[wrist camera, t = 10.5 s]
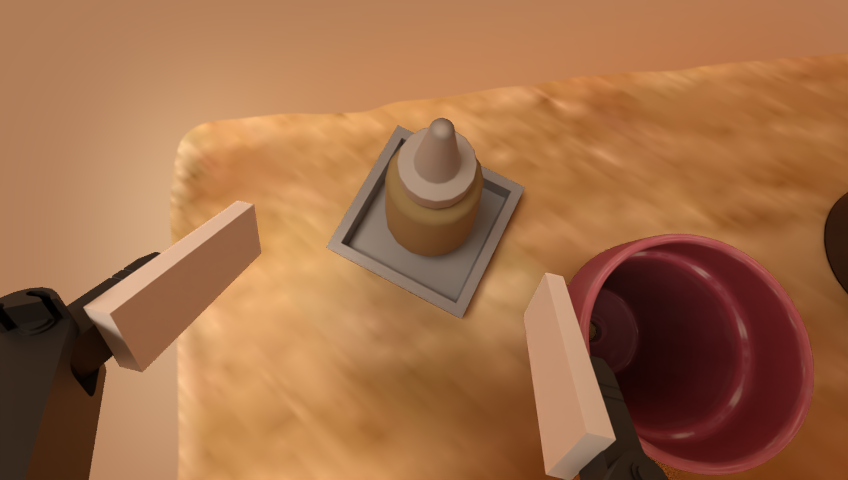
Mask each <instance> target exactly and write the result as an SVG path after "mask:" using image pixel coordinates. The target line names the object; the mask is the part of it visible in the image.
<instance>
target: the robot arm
mask: <svg viewBox="0 0 848 480" xmlns="http://www.w3.org/2000/svg"><path fill="white" fill-rule="evenodd" d="M825 241H826V249H827V253H828V257H829V260H830V263H831V266H832V268H833V270H834V272H835V274H836V276H837V278H838V279H839V281H840V283H841V284H842V285H843V287H844V288H845V289H846V291H847V292H848V193H847V194H845V195H844V196H843V197H842V198H841V199H840V200H839V201H838V202H837V203H836V204H835V206H834V207H833V209H832V211H831V213H830V215H829V218H828V221H827V225H826V233H825ZM260 254H261V248H260V241H259V234H258V228H257V221H256V214H255V207H254V204H251V203H247V202H242V201H238V200H237V201H236V202H235V203H233V204H232V205H230V206H229V207H227V208H226V209H224V210H223V211H222V212H220V213H219V214H217V215H216V216H214V217H213V218H211V219H210V220H209V221H207V222H206V223H204V224H203V225H201V226H200V227H198V228H197V229H196V230H194V231H193V232H191V233H190V234H188V235H187V236H185V237H184V238H183V239H181V240H180V241H178V242H177V243H175V244H174V245H172V246H171V247H170V248H168V249H167V250H165V251H164V252H163V253H158V252H154V253H152V254H149V255H147V256H144V257H142V258H139V259H137V260H136V261H134V262H133V263H131V264H130V265H128V266H127V267H125V268H124V270H121V271H119V272H118V273H116V274H114V275H113V276H112V278H108V279H107V280H105V281H104V282H102V283H101V284H99V285H98V286H96V287H95V288H94V289H92V290H90V291H89V292H87V293H86V294H84V295H83V296H81V297H80V298H78V299H77V300H75V301H74V302H72V303H71V304H69V305H68V306H65V304H64V303H63V301H62V300H61V298H60V297H59V295H58V294H57V292H55V291H54V290H52V289H49V288H43V287H40V288H29V289H25V290H21V291H17V292H13V293H11V294H9V295H6V296H4V297H1V298H0V480H89V474H90V468H91V462H92V456H93V450H94V444H95V437H96V431H97V425H98V419H99V413H100V407H101V401H102V394H103V388H104V382H105V376H106V367H105V364H104V363H105V362H106V361H107V360H108V359H109V358H110V357H112V356H114V358H115V359H116V361H117V363H118V364H119V366H120V367H124V368H127V369H132V370H136V371H139V372H143V371H144V370H145V369H146V368H147V367H148V366H149V365H150V364H151V363H152V362H153V361H154V360H155V359H156V358H157V357H158V356H159V355H160V354H161V353H162V352H163V351H164V350H165V349H166V348H167V347H168V346H169V345H170V344H171V343H172V342H173V341H174V340H175V339H176V338H177V337H178V336H179V335H180V334H181V333H182V332H183V331H184V330H185V329H186V328H187V327H188V326H189V325H190V324H191V323H192V322H193V321H194V320H195V319H196V318H197V317H198V316H199V315H200V314H201V313H202V312H203V311H204V310H205V309H206V308H207V307H208V306H209V305H210V304H211V303H212V302H213V301H214V300H215V299H216V298H217V297H218V296H219V295H220V294H221V293H222V292H223V291H224V290H225V289H226V288H227V287H228V286H229V285H230V284H231V283H232V282H233V281H234V280H235V279H236V278H237V277H238V276H239V275H240V274H241V273H242V272H243V271H244V270H245V269H246V268H247V267H248V266H249V265H250V264H251V263H252V262H253V261H254V260H255V259H256V258H257V257H258V256H259V255H260ZM523 316H524V324H525V331H526V338H527V345H528V352H529V359H530V366H531V373H532V380H533V387H534V394H535V401H536V409H537V416H538V423H539V430H540V437H541V444H542V451H543V458H544V465H545V472H546V475H549V476H553V477H557V478H561V479H565V480H572V479H573V478H574V477H575V476H576V475H577V474H580V479H581V480H668V478H667V476H666V475H665V473H664V472H663V470H662V469H661V468H660V467H659V466H658V465H657V464H656V463H655V462H654V461H653V460H652V459H650V458H649V457H647V456H646V455H645V453H644V451H643V448H642V446H641V443H640V440H639V438H638V435H637V433H636V430H635V427H634V425H633V422H632V419H631V417H630V414H629V412H628V409H627V406H626V404H625V403H624V399H623V396H622V393H621V391H619V385H618V383H617V380H616V378H615V375H614V373H613V371H612V370H611V369H610V367H609V366H608V365H607V363H606V362H605V361H604V359H602V358H598V357H594V356H589V355H588V352H587V349H586V346H585V343H584V339H583V336H582V333H581V330H580V327H579V324H578V321H577V318H576V315H575V312H574V309H573V306H572V302H571V299H570V296H569V293H568V290H567V287H566V284H565V281H564V278H563V276H559V275H555V274H551V273H546V272H545V274H544V276H543V278H542V280H541V282H540V284H539V286H538V288H537V290H536V292H535V294H534V296H533V298H532V300H531V302H530V304H529V306H528V307H527V309H526V311H525V313H524V315H523Z"/></svg>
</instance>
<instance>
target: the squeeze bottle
mask: <svg viewBox="0 0 848 480" xmlns="http://www.w3.org/2000/svg"><path fill="white" fill-rule="evenodd" d="M483 184H484V179H483V174H482V169H481V165H480V163H479V161H478V160H477V158H476V156H475V152H474V149H473V148H472V147H471V145H470V144H469V142H468V141H467V139H466V138H465V137H463V136H462V135H460V134H459V133H457V132H456V131H455V129H454V125H453V124H452V122H451V121H449V120H448V119H445V118H439V119H436V120H434V121H433V122H432V123H431V125H430V127H429V128H424V129H421V130H420V131H418V132H416V133H414V134H413V135H411V136H409V138H408V139H407V140H406V142H405V143H404V144H403V145H402V146H401V147H400V148H399V150H398V151H397V152H396V153H395V155H394V156H393V157H392V158H391V160H390V162H389V166H388V170H387V174H386V177H385V212H386V219H387V226H388V229H389V231H390V232H391V234H392V235H393V237H394V239H395V240H396V242H397V243H398V244H400V245H401V246H402V247H404V248H405V249H407V250H408V251H409V252H411V253H414V254H418V255H423V256H427V257H432V256H438V255H444V254H447V253H449V252H451V251H452V250H454V249H455V248H457V247H459V246H460V245H462V243H463V242H464V240H465V239H466V237H467V236H468V235H469V233H470V232H471V230H472V226H473V223H474V220H475V216H476V213H477V209H478V206H479V202H480V199H481V194H482V189H483Z"/></svg>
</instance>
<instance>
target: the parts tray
mask: <svg viewBox="0 0 848 480" xmlns="http://www.w3.org/2000/svg"><path fill="white" fill-rule="evenodd" d="M413 134H414V133H413V132H411V131H409V130H407V129H405V128H402V127H400V126H397V127H396V129H395V131H394V133H393V134H392V136H391V138H390V139H389V141H388V143H387V144H386V146H385V148H384V150H383V151H382V153H381V155H380V156H379V158H378V160H377V161H376V163H375V165H374V167H373V168H372V170H371V172H370V173H369V175H368V177H367V179H366V180H365V182H364V184H363V185H362V187H361V189H360V190H359V192H358V194H357V196H356V197H355V199H354V201H353V202H352V204H351V206H350V207H349V209H348V211H347V213H346V214H345V216H344V218H343V219H342V221H341V223H340V224H339V226H338V228H337V230H336V231H335V233H334V235H333V236H332V238H331V240H330V242H329V243H328V245H327V247H326V248H328V249H330V250H332V251H333V252H335V253H337V254H339V255H341V256H343V257H345V258H346V259H348V260H350V261H352V262H354V263H356V264H358V265H360V266H362V267H363V268H365V269H367V270H369V271H371V272H373V273H375V274H377V275H379V276H380V277H382V278H384V279H386V280H388V281H390V282H392V283H394V284H396V285H398V286H399V287H401V288H403V289H405V290H407V291H409V292H411V293H413V294H415V295H416V296H418V297H420V298H422V299H424V300H426V301H428V302H430V303H432V304H434V305H435V306H437V307H439V308H441V309H443V310H445V311H447V312H449V313H451V314H452V315H454V316H456V317H458V318H461V319H462V317H463V314H464V312H465V310H466V308H467V306H468V304H469V302H470V300H471V298H472V296H473V294H474V292H475V290H476V287H477V285H478V283H479V281H480V279H481V277H482V275H483V273H484V271H485V269H486V267H487V265H488V263H489V261H490V258H491V256H492V254H493V252H494V250H495V248H496V246H497V244H498V242H499V240H500V238H501V236H502V234H503V232H504V229H505V227H506V225H507V223H508V221H509V219H510V217H511V215H512V213H513V211H514V209H515V207H516V205H517V202H518V200H519V198H520V196H521V194H522V192H523V190H524V188H525V187H523V186H521V185H519V184H517V183H515V182H513V181H511V180H509V179H507V178H505V177H503V176H501V175H499V174H497V173H495V172H493V171H491V170H489V169H487V168H485V167H482V166H481V169H482V174H483V179H484V184H483V189H482V194H481V199H480V202H479V206H478V209H477V213H476V216H475V220H474V223H473V226H472V230H471V232H470V233H469V235H468V236H467V237H466V239H465V240H464V242H463V243H462V245H460V246H459V247H457V248H455V249H454V250H452V251H451V252H449V253H447V254H444V255H438V256H432V257H427V256H423V255H418V254H414V253H411V252H409V251H408V250H407V249H405V248H404V247H402V246H401V245H400V244H398V243H397V242H396V240H395V239H394V237H393V235H392V234H391V232H390V231H389V229H388V226H387V219H386V212H385V177H386V174H387V170H388V166H389V162H390V160H391V158H392V157H393V156H394V155H395V153H396V152H397V151H398V150H399V148H400V147H401V146H402V145H403V144H404V143H405V142H406V140H407V139H408V138H409V136H411V135H413Z"/></svg>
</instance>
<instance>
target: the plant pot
mask: <svg viewBox="0 0 848 480" xmlns="http://www.w3.org/2000/svg"><path fill="white" fill-rule="evenodd" d="M566 287H567V290H568V293H569V296H570V299H571V302H572V306H573V309H574V312H575V315H576V318H577V321H578V324H579V327H580V330H581V333H582V336H583V339H584V343H585V346H586V349H587V352H588V355H589V356H594V357H598V358H602V359H604V361H605V362H606V363H607V365H608V366H609V367H610V369H611V370H612V371H613V373H614V375H615V378H616V380H617V383H618V385H619V391H621V393H622V396H623V399H624V403H625V404H626V406H627V409H628V412H629V414H630V417H631V419H632V422H633V425H634V427H635V430H636V433H637V435H638V438H639V440H640V443H641V446H642V448H643V451H644V453H645V454H646V455H648V456H650V457H651V458H653V459H655V460H657V461H659V462H661V463H663V464H666V465H668V466H671V467H673V468H676V469H680V470H683V471H687V472H692V473H697V474H706V475H723V474H733V473H738V472H742V471H746V470H749V469H752V468H754V467H756V466H759V465H761V464H763V463H765V462H766V461H768V460H770V459H771V458H772V457H774V456H775V455H777V454H778V453H779V452H780V451H781V450H782V449H783V448H785V447H786V446H787V445H788V443H789V442H790V441H791V440H792V439H793V438H794V437H795V435H796V433H797V432H798V430H799V429H800V427H801V425H802V423H803V422H804V420H805V417H806V415H807V412H808V410H809V406H810V403H811V398H812V393H813V386H814V363H813V355H812V349H811V345H810V341H809V338H808V334H807V331H806V328H805V326H804V323H803V321H802V319H801V316H800V314H799V312H798V311H797V309H796V307H795V305H794V304H793V302H792V300H791V299H790V297H789V296H788V294H787V293H786V291H785V290H784V289H783V288H782V286H781V285H780V284H779V282H778V281H777V280H776V279H775V278H774V277H773V276H772V275H771V274H770V273H769V272H768V271H767V270H766V269H765V268H764V267H763V266H761V265H760V264H759V263H758V262H757V261H755V260H754V259H753V258H751V257H750V256H748V255H747V254H745V253H743V252H742V251H740V250H738V249H736V248H734V247H732V246H730V245H728V244H725V243H723V242H720V241H717V240H714V239H711V238H707V237H703V236H697V235H690V234H666V235H659V236H653V237H649V238H644V239H639V240H636V241H632V242H628V243H625V244H622V245H619V246H616V247H613V248H611V249H608V250H606V251H604V252H602V253H600V254H598V255H597V256H595V257H594V258H592V259H591V260H590V261H589V262H587V263H586V264H585V265H584V266H583V267H582V268H581V269H580V270H579V271H578V272H577V274H576V275H575V276H574V278H573V279H572V281H571V282H570V284H569V285H568V286H566ZM590 322H592V323H593V324H595V326H596V329H597V334H596V337H595V338H594V339H593V340H590V341H589V325H590Z"/></svg>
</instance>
